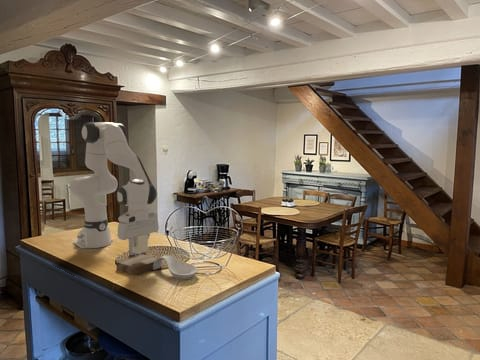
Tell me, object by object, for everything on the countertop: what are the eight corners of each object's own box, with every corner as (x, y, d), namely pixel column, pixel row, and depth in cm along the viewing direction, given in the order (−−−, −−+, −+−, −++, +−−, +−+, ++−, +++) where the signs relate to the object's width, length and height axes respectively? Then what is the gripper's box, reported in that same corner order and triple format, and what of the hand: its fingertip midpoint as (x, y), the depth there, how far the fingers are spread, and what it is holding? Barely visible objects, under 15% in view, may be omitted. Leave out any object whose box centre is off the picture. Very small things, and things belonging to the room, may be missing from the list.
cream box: (132, 252, 164) (131, 234, 163) (141, 249, 168) (140, 232, 167) (139, 254, 161) (138, 236, 160) (147, 251, 165) (147, 234, 164)
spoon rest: (203, 276, 156) (203, 260, 155) (184, 285, 146) (183, 268, 145) (165, 265, 169) (165, 250, 169) (145, 273, 160) (145, 257, 159)
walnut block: (116, 270, 164) (116, 261, 163) (141, 261, 175) (140, 253, 175) (137, 277, 156) (136, 268, 155) (161, 267, 167) (160, 259, 167)
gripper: (152, 210, 173) (153, 238, 174) (114, 218, 156) (116, 249, 158) (161, 212, 169) (161, 241, 170) (123, 220, 153) (125, 251, 154)
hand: (139, 245), depth 164 cm, fingers closed on cream box, 5 cm apart
